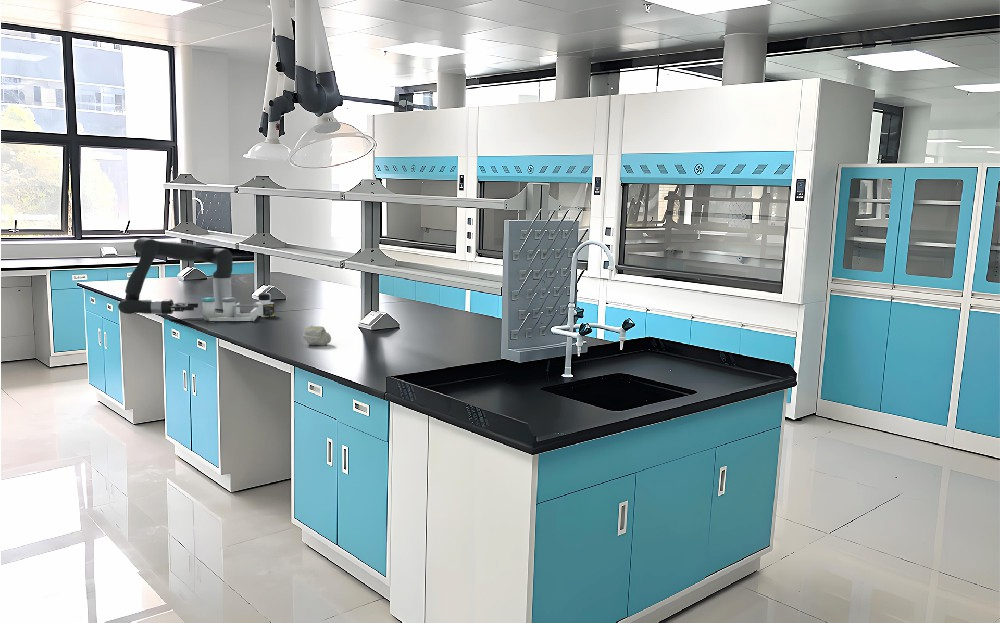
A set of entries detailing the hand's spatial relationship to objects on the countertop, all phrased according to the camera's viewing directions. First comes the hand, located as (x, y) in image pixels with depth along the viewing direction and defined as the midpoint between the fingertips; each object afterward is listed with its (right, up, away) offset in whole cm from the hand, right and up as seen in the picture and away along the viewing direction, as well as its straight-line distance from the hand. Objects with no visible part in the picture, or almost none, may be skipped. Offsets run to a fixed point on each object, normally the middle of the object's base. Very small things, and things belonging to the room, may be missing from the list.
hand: (195, 306), depth 387 cm
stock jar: (+16, -6, +4) cm, 17 cm away
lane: (+18, -6, +4) cm, 19 cm away
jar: (+6, -6, +2) cm, 9 cm away
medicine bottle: (+30, -5, +17) cm, 35 cm away
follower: (+25, -6, +5) cm, 26 cm away
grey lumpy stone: (+74, -17, -50) cm, 91 cm away
